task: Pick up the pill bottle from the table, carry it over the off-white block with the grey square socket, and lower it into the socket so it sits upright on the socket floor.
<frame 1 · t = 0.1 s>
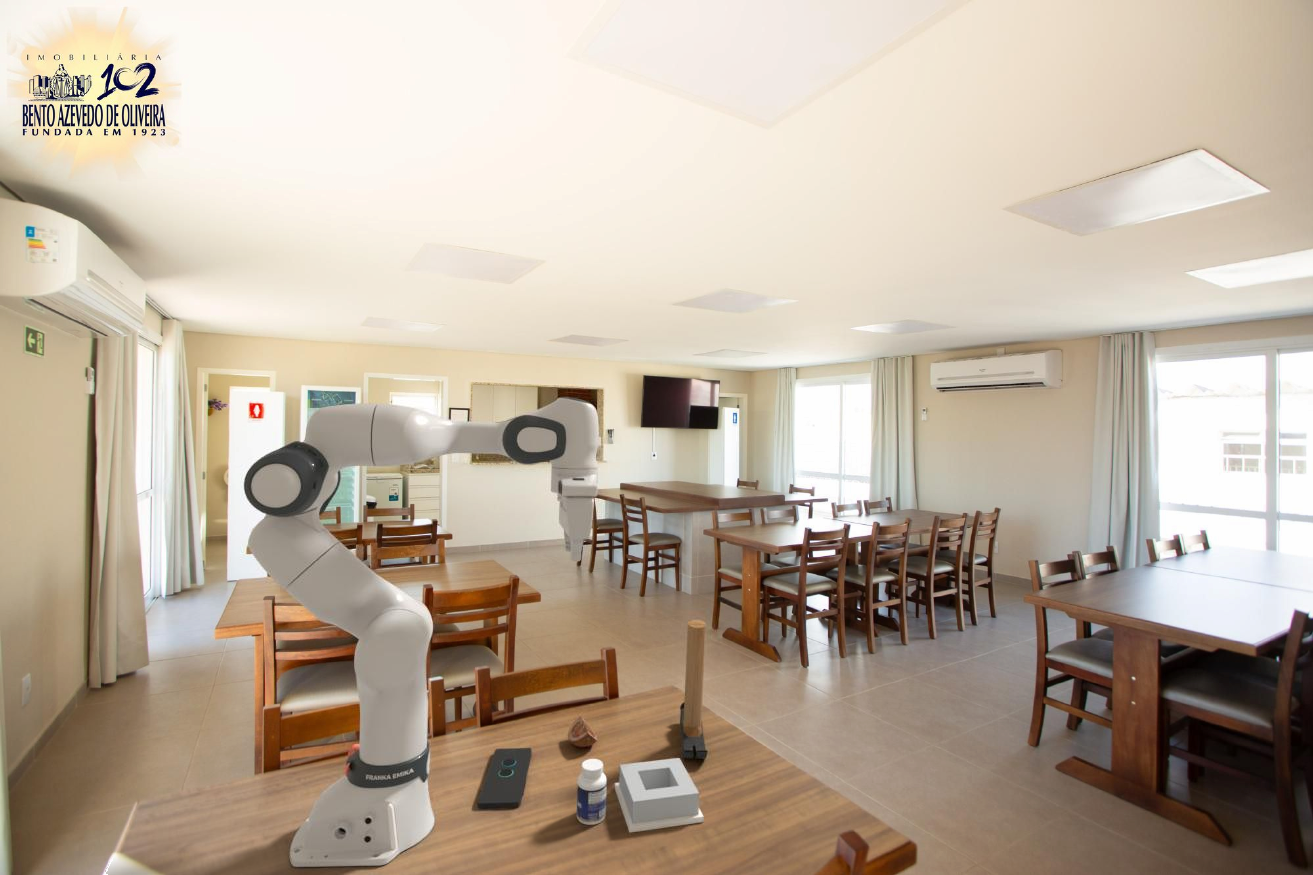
hand: (572, 555, 114), 48 cm above the table, tool pointing down, fingers open, 8 cm apart
fruit slice: (582, 746, 137), on the table
hammer: (691, 744, 140), on the table
pill bottle: (590, 817, 111), on the table
smart home device: (506, 781, 123), on the table
socket block: (657, 804, 116), on the table
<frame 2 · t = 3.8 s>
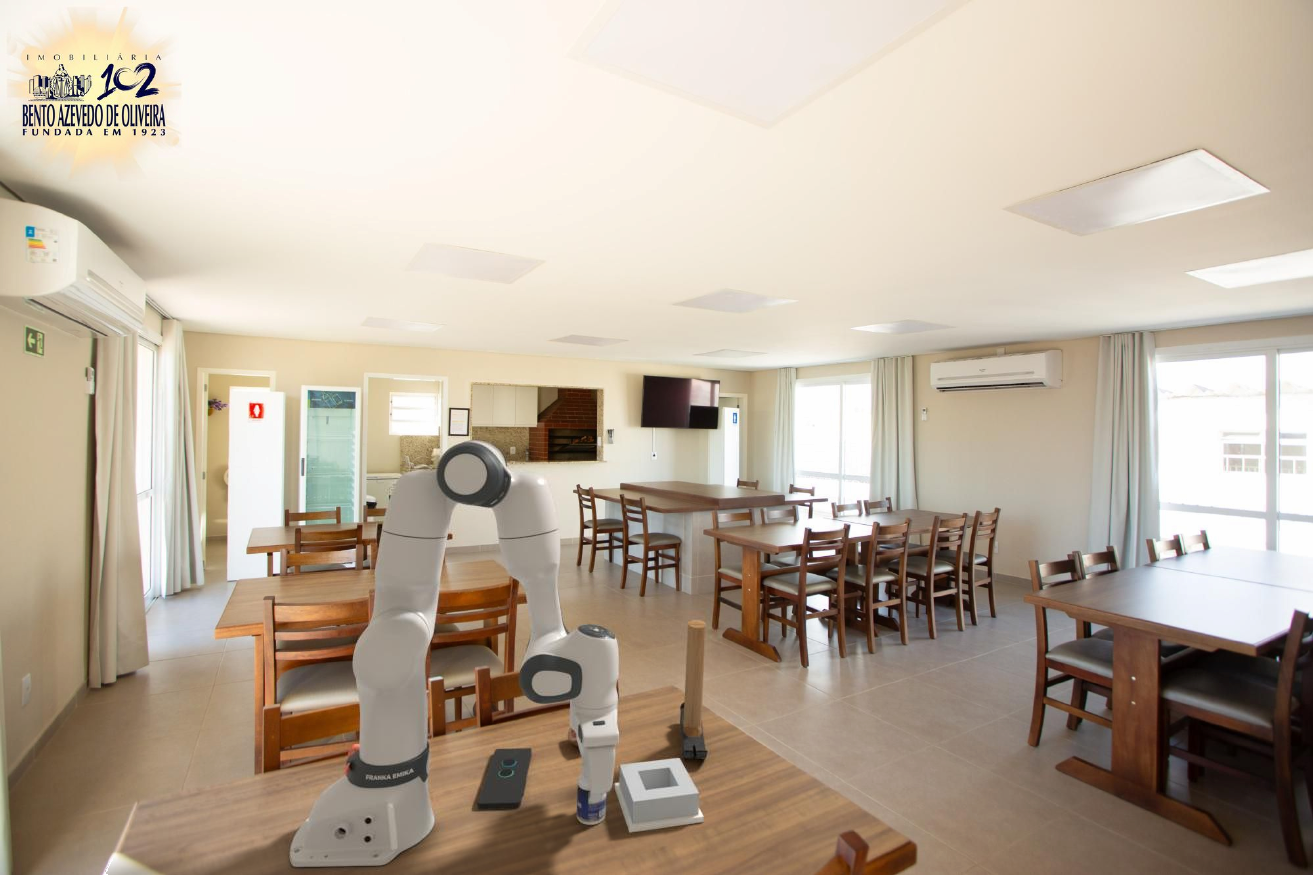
hand: (591, 789, 111), 5 cm above the table, tool pointing down, fingers closed on pill bottle, 5 cm apart
pill bottle: (590, 817, 111), on the table, touching gripper
everything else where it was.
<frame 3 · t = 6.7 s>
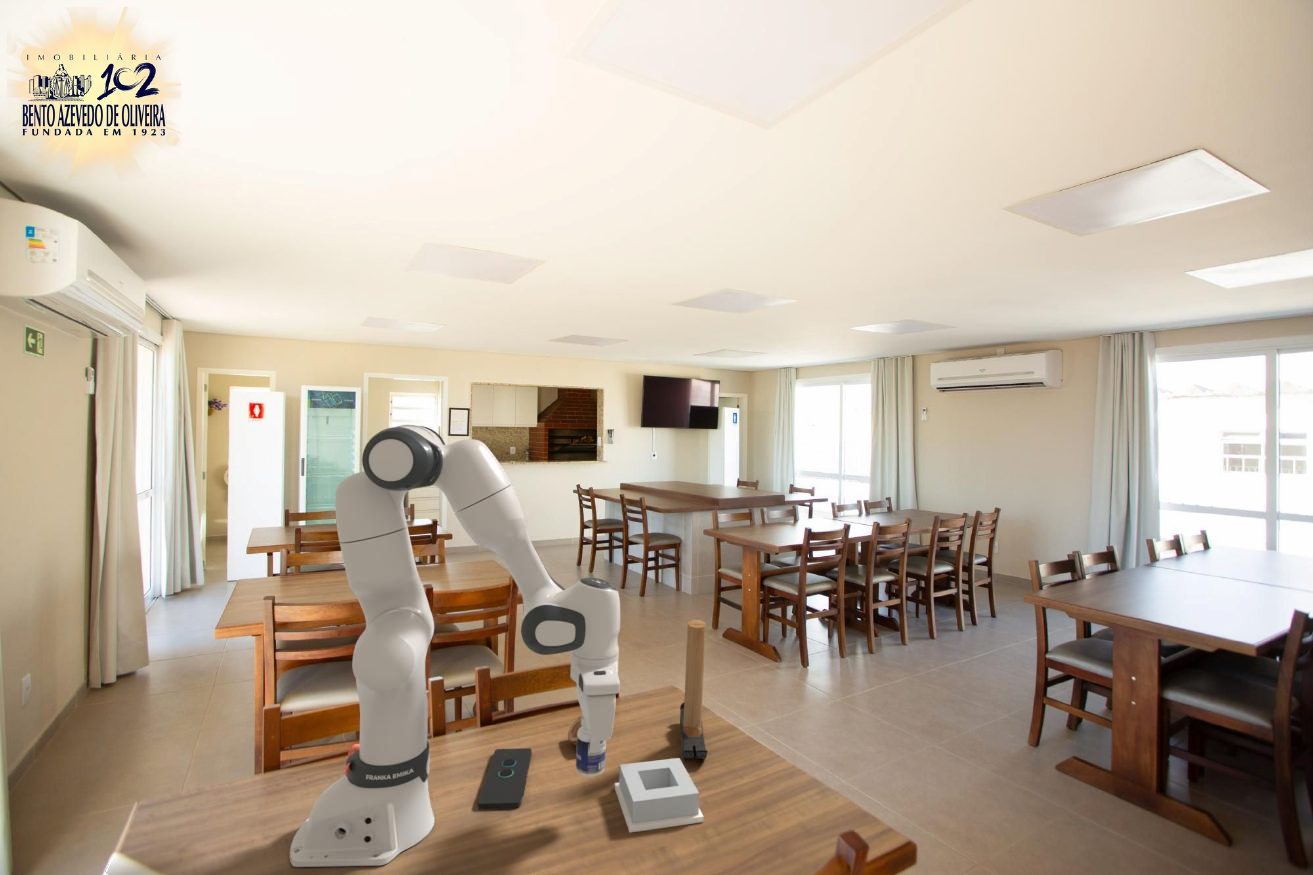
hand: (591, 741, 111), 14 cm above the table, tool pointing down, fingers closed on pill bottle, 5 cm apart
pill bottle: (590, 770, 111), point 8 cm above the table, touching gripper
everything else where it was.
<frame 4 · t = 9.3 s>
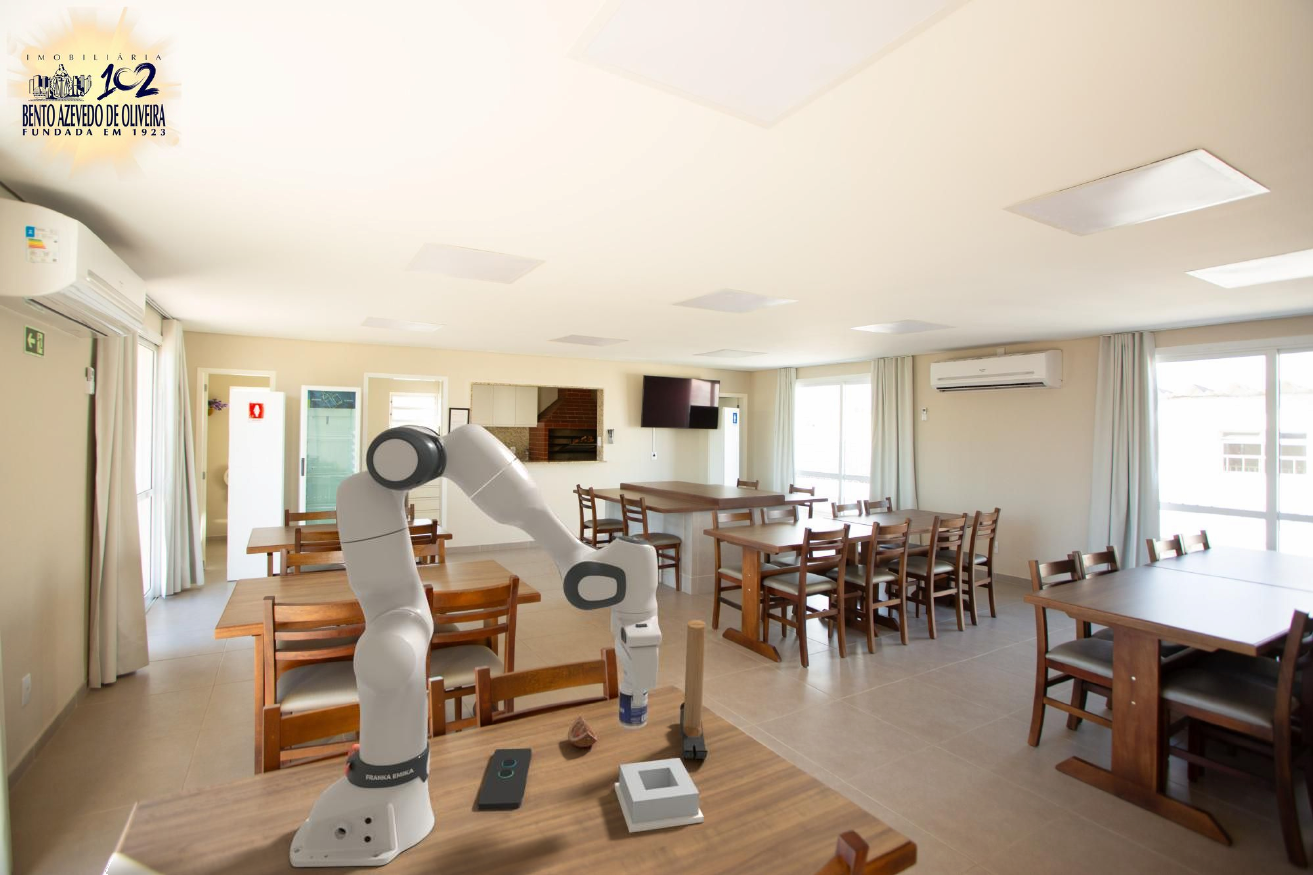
hand: (633, 695, 114), 22 cm above the table, tool pointing down, fingers closed on pill bottle, 5 cm apart
pill bottle: (632, 724, 114), point 16 cm above the table, touching gripper
everything else where it was.
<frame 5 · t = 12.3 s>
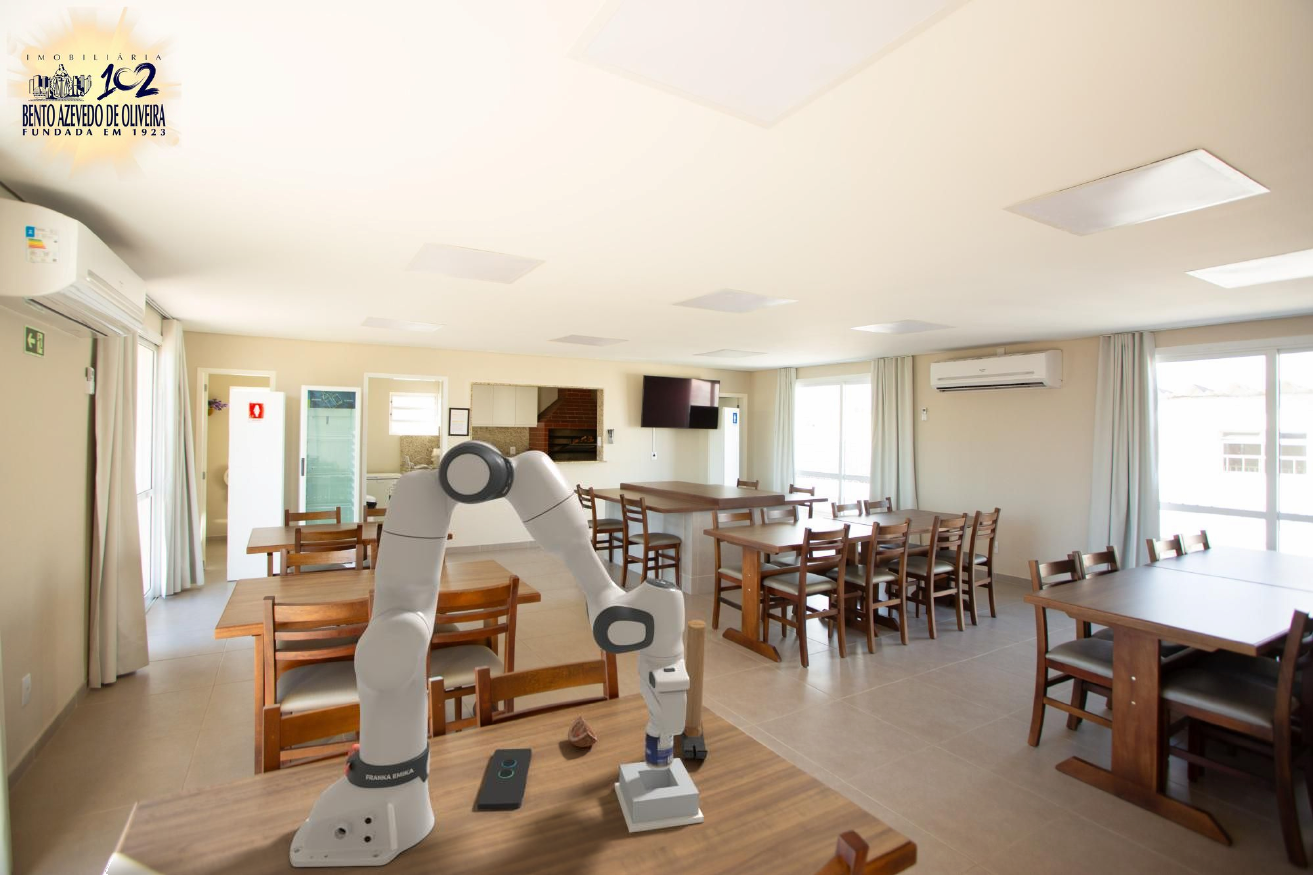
hand: (659, 736, 116), 13 cm above the table, tool pointing down, fingers closed on pill bottle, 5 cm apart
pill bottle: (658, 764, 116), point 8 cm above the table, touching gripper
everything else where it was.
when the fingers open (6 cm above the table, at t = 14.7 s): pill bottle stays where it is, resting on socket block.
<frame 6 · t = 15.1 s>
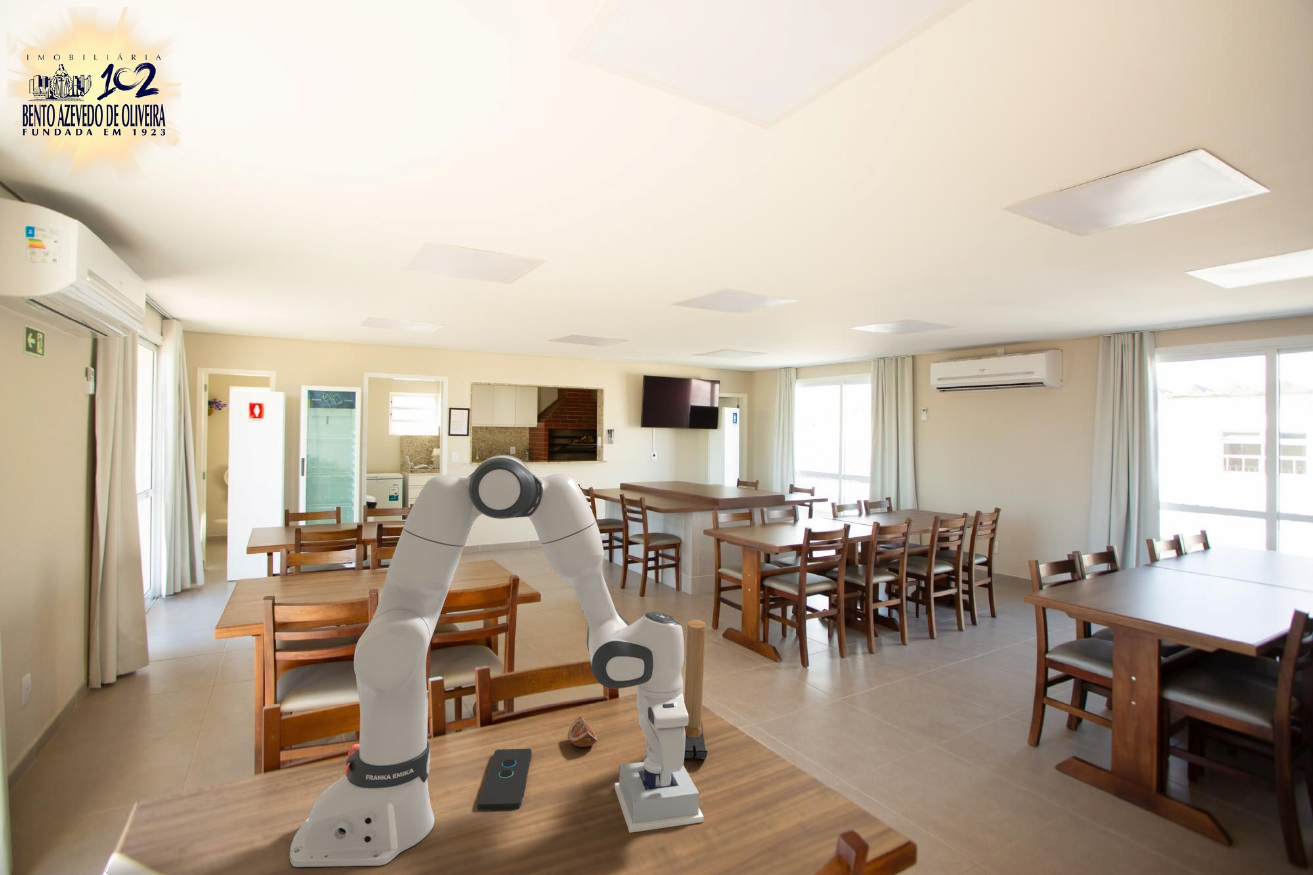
hand: (657, 770, 116), 7 cm above the table, tool pointing down, fingers open, 8 cm apart
pill bottle: (656, 800, 116), point 1 cm above the table, touching socket block
everything else where it was.
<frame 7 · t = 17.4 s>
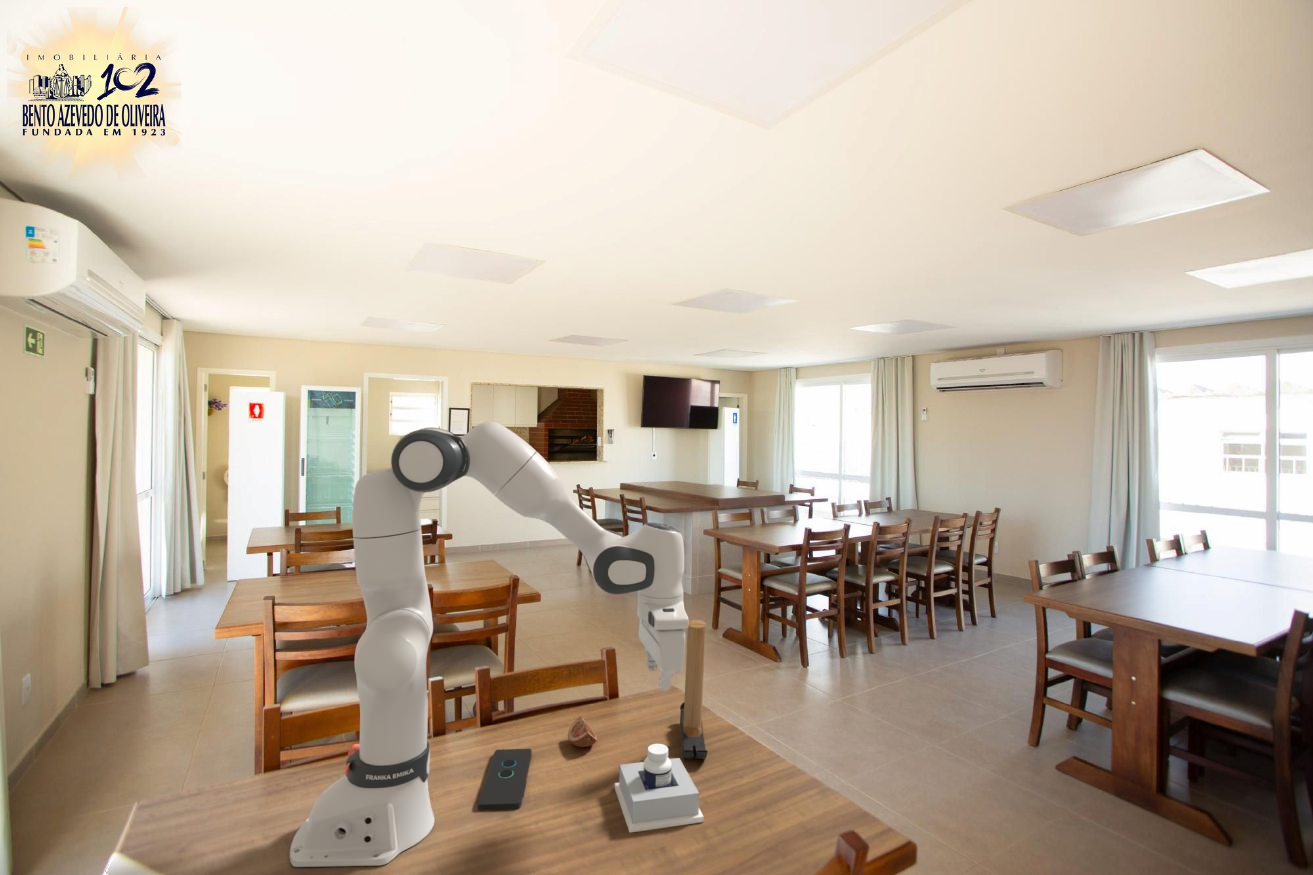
hand: (657, 678, 116), 24 cm above the table, tool pointing down, fingers open, 8 cm apart
nothing on the table moved.
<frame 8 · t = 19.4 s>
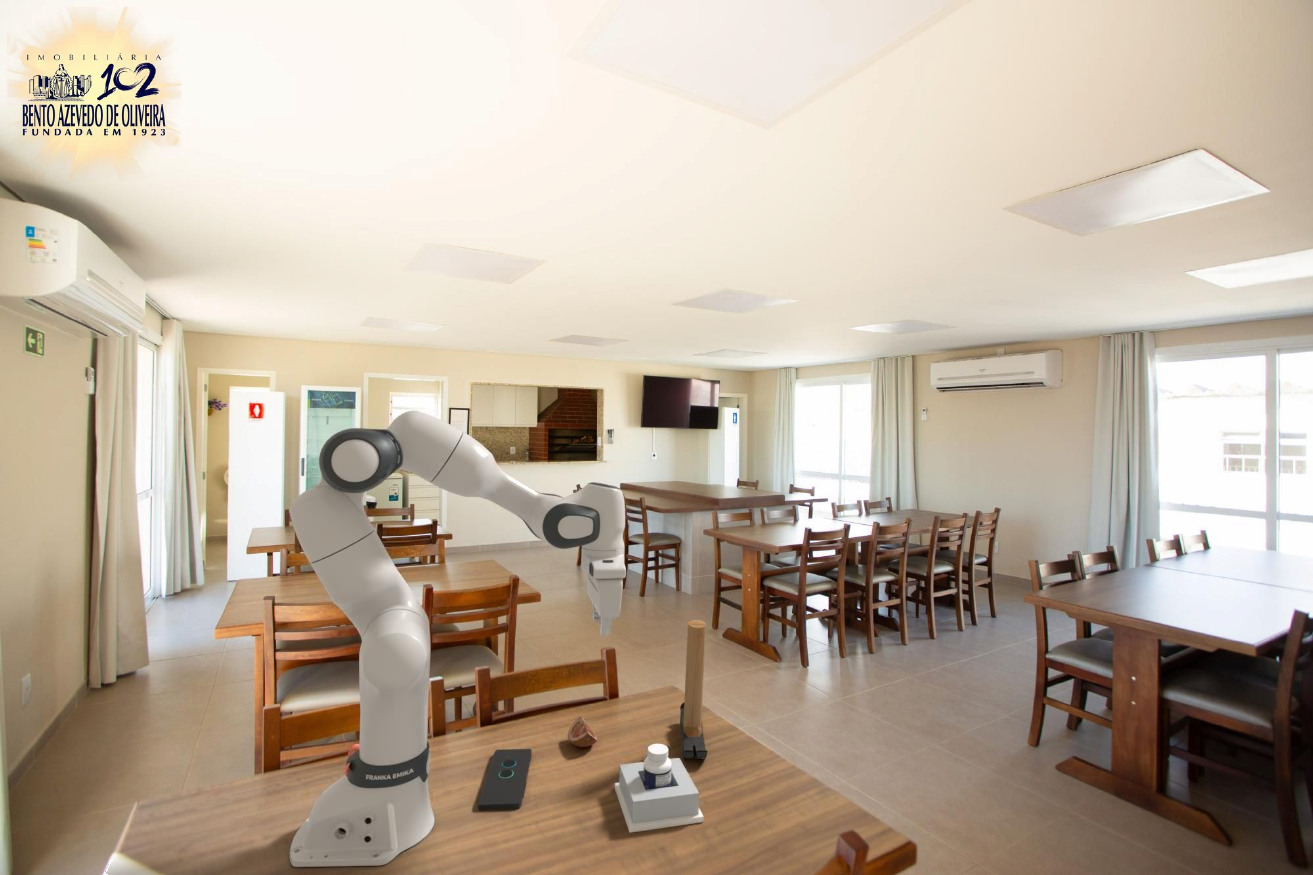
hand: (601, 628, 124), 31 cm above the table, tool pointing down, fingers open, 8 cm apart
nothing on the table moved.
at the end: pill bottle 0.1 cm off-centre on the socket block, point 0.8 cm above the socket block's base; pill bottle tilted 0°; the gripper is holding nothing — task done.
